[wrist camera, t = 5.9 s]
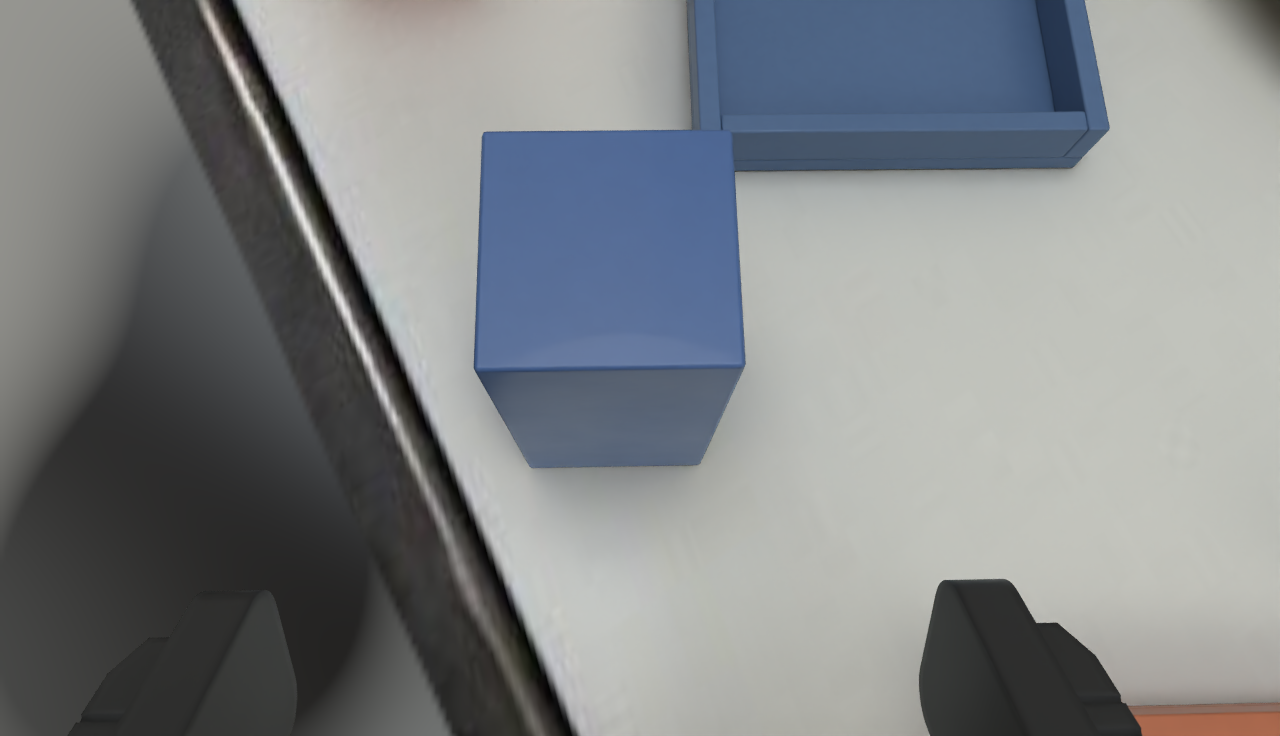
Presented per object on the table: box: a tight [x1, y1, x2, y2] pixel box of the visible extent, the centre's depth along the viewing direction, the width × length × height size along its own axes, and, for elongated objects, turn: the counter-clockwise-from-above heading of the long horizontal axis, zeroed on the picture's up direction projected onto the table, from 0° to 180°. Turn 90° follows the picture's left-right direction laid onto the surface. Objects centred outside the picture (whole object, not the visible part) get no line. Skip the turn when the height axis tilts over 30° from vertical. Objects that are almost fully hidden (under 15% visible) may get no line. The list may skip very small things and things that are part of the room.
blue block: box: [474, 130, 746, 468], centre depth 19 cm, size 4×4×9 cm
